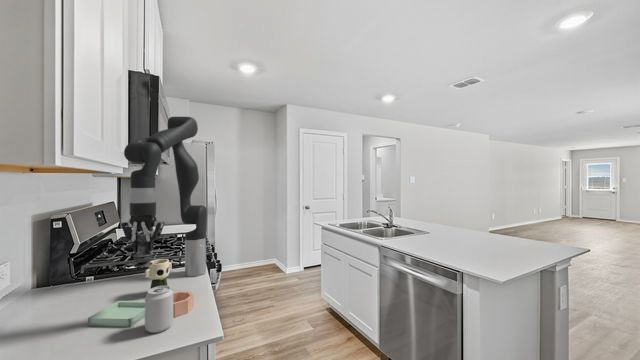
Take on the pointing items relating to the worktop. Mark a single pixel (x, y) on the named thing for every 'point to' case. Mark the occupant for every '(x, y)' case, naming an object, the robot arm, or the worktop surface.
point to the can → (158, 309)
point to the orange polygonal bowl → (182, 303)
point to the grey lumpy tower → (142, 252)
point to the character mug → (158, 272)
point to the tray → (119, 314)
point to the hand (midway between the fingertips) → (143, 251)
